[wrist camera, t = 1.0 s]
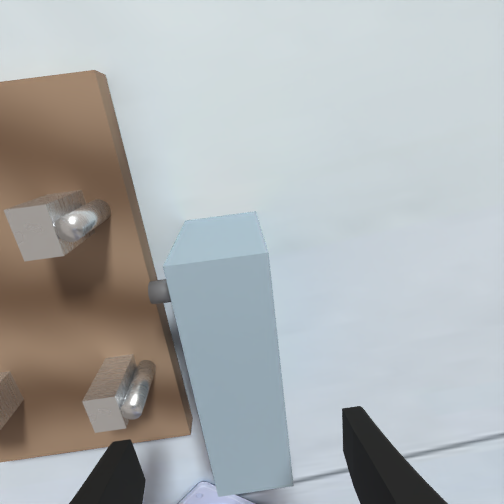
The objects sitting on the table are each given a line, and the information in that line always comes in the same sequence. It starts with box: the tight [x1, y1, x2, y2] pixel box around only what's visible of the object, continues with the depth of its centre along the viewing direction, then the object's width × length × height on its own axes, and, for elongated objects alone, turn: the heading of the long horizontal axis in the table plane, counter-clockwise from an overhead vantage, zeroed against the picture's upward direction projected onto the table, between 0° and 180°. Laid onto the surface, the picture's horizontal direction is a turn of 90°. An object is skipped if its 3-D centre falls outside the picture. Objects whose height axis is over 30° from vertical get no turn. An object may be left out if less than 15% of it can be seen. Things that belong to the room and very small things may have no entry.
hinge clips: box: [0, 190, 156, 433], centre depth 15 cm, size 11×9×3 cm
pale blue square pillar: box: [148, 211, 293, 497], centre depth 16 cm, size 12×5×6 cm, turn 8°
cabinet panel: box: [0, 70, 193, 462], centre depth 17 cm, size 20×12×1 cm, turn 8°
